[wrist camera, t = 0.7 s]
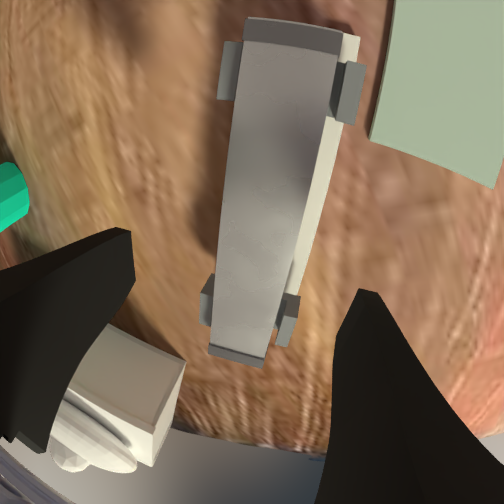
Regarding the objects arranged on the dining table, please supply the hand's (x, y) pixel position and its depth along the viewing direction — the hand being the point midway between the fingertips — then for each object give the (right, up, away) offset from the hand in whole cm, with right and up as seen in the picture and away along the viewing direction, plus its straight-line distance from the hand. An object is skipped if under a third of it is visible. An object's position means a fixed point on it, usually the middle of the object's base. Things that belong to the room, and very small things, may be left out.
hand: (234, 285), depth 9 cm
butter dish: (-16, -13, +23) cm, 31 cm away
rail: (+1, +3, +5) cm, 6 cm away
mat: (+11, +12, 0) cm, 17 cm away
